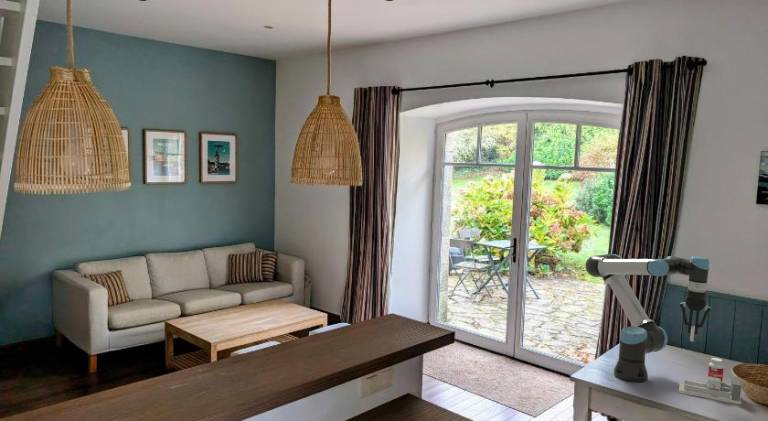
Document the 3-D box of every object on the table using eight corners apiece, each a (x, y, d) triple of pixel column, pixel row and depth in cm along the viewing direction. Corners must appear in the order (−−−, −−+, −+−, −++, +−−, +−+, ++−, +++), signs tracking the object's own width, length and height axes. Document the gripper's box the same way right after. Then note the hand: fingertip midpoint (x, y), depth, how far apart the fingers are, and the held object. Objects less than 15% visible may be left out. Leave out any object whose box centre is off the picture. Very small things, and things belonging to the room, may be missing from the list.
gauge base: (678, 392, 259) (680, 374, 258) (679, 385, 267) (680, 368, 267) (740, 404, 247) (742, 386, 247) (739, 396, 256) (740, 378, 255)
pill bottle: (708, 382, 272) (710, 360, 271) (706, 378, 278) (708, 356, 277) (723, 385, 269) (725, 362, 269) (721, 380, 275) (723, 358, 274)
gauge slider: (706, 394, 253) (708, 381, 253) (706, 389, 260) (707, 376, 259) (724, 397, 250) (725, 384, 250) (723, 392, 257) (724, 379, 256)
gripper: (680, 289, 261) (675, 339, 264) (713, 294, 255) (707, 345, 257) (681, 286, 268) (676, 335, 270) (713, 291, 261) (708, 341, 264)
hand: (691, 340), depth 264 cm, fingers closed
